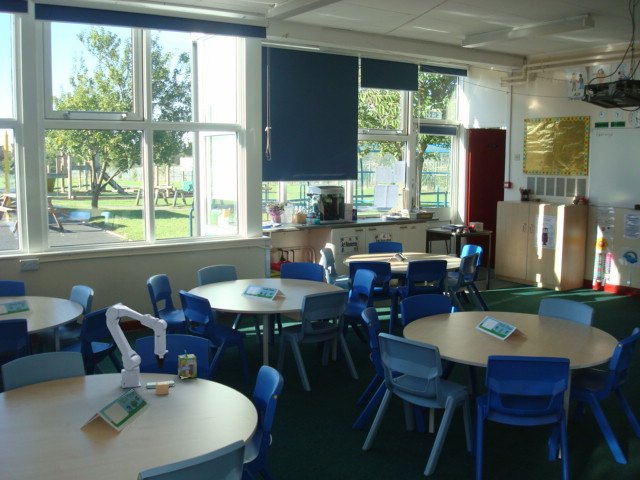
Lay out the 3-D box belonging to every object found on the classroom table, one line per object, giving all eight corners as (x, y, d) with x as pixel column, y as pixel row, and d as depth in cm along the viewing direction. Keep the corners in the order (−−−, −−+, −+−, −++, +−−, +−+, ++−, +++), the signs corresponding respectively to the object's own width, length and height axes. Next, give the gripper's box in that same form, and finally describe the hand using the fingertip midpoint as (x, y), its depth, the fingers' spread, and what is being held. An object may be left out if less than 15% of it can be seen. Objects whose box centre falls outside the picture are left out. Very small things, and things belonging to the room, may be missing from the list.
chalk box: (197, 377, 354) (196, 351, 353) (180, 379, 351) (180, 353, 349) (194, 373, 362) (193, 347, 361) (177, 374, 359) (177, 349, 358)
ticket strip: (147, 388, 334) (147, 385, 334) (146, 385, 338) (146, 382, 338) (174, 386, 338) (174, 383, 338) (173, 383, 343) (173, 380, 343)
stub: (156, 394, 324) (156, 385, 324) (155, 391, 329) (155, 382, 329) (168, 393, 326) (168, 384, 326) (167, 390, 331) (167, 381, 331)
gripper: (169, 345, 330) (169, 371, 331) (166, 339, 344) (166, 363, 345) (155, 346, 328) (155, 372, 329) (153, 340, 342) (153, 364, 343)
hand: (160, 368), depth 337 cm, fingers closed
